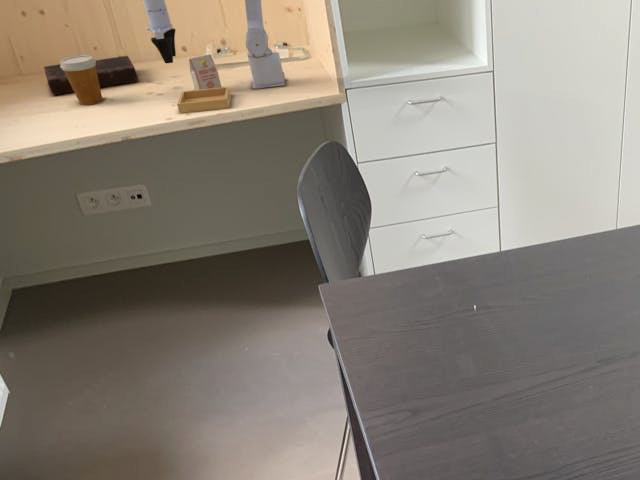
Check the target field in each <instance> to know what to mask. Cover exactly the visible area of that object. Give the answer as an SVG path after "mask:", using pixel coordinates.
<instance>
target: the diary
mask: <svg viewBox="0 0 640 480" xmlns="http://www.w3.org/2000/svg"><path fill="white" fill-rule="evenodd" d="M94 60H95V59H94ZM95 61H96V63H95V64H96V65H95V67H96V71H97V76H98V81H99V85H100V88H103V87H108V86H115V85H118V84H127V83H135V82H139V80H140V79H139V78H138V74H137V71H136V68H135V66H134V64H133V62H132V60H131V59H130V57H129V56H128V55H121V56H116V57H109V58H102V59H96V60H95ZM60 66H61V63H59V64H51V65H47V66H43V69H44V73H45V77H46V81H47V84H48V87H49V90H50V92H51V95H53V96H56V95H60V94H65V93H71V92H74V90H73V88H72V86H71V84H70V82H69V80H68V78H67V76H66V74H65V72H64V70H62V68H61V67H60Z"/></svg>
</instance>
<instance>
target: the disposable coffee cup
mask: <svg viewBox="0 0 640 480" xmlns="http://www.w3.org/2000/svg"><path fill="white" fill-rule="evenodd" d="M95 63H96V61H95V59H94V57H93V56H92V55H87V54H86V55H85V54H84V55H74V56H69V57H66V58H62V59H61V60H60V64H61V66H60V67H61V68H62V70H64V72H65V74H66V76H67V78H68V80H69V82H70V84H71V86H72V88H73V90H74V91H73V92H74V94H75V96H76V98H77V100H78V102H79V104H80V105H84V106H87V105H88V106H89V105H94V104H98V103H101V102H103V96H102V90H101V87H100V85H99V81H98V76H97V71H96V67H95V65H96V64H95Z"/></svg>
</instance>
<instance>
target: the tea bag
mask: <svg viewBox="0 0 640 480" xmlns="http://www.w3.org/2000/svg"><path fill="white" fill-rule="evenodd" d="M188 61H189V73H190V76H191V80H192V85H193V88H194V90H201V89H211V88H221V87H222V83H221V80H220V76H219V72H218V69H217V66H216V63H215V62H214V59H213V56H212V54H211V53H209V54H206V55H205V54H204V55H201V56H196V57H191V58H189V59H188Z"/></svg>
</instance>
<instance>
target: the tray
mask: <svg viewBox="0 0 640 480" xmlns="http://www.w3.org/2000/svg"><path fill="white" fill-rule="evenodd" d="M231 99H232V93H231V88H230V86H221V88H211V89H201V90H195V89H193V90H184V91H183V90H182V91H180V95H179V98H178V100H177V103H176V105H177V108H178V112H179V114H185V113H186V114H187V113H192V112H194V113H195V112H203V111H204V112H205V111H212V110H213V111H214V110H222V109H229V108H230V105H231Z"/></svg>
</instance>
